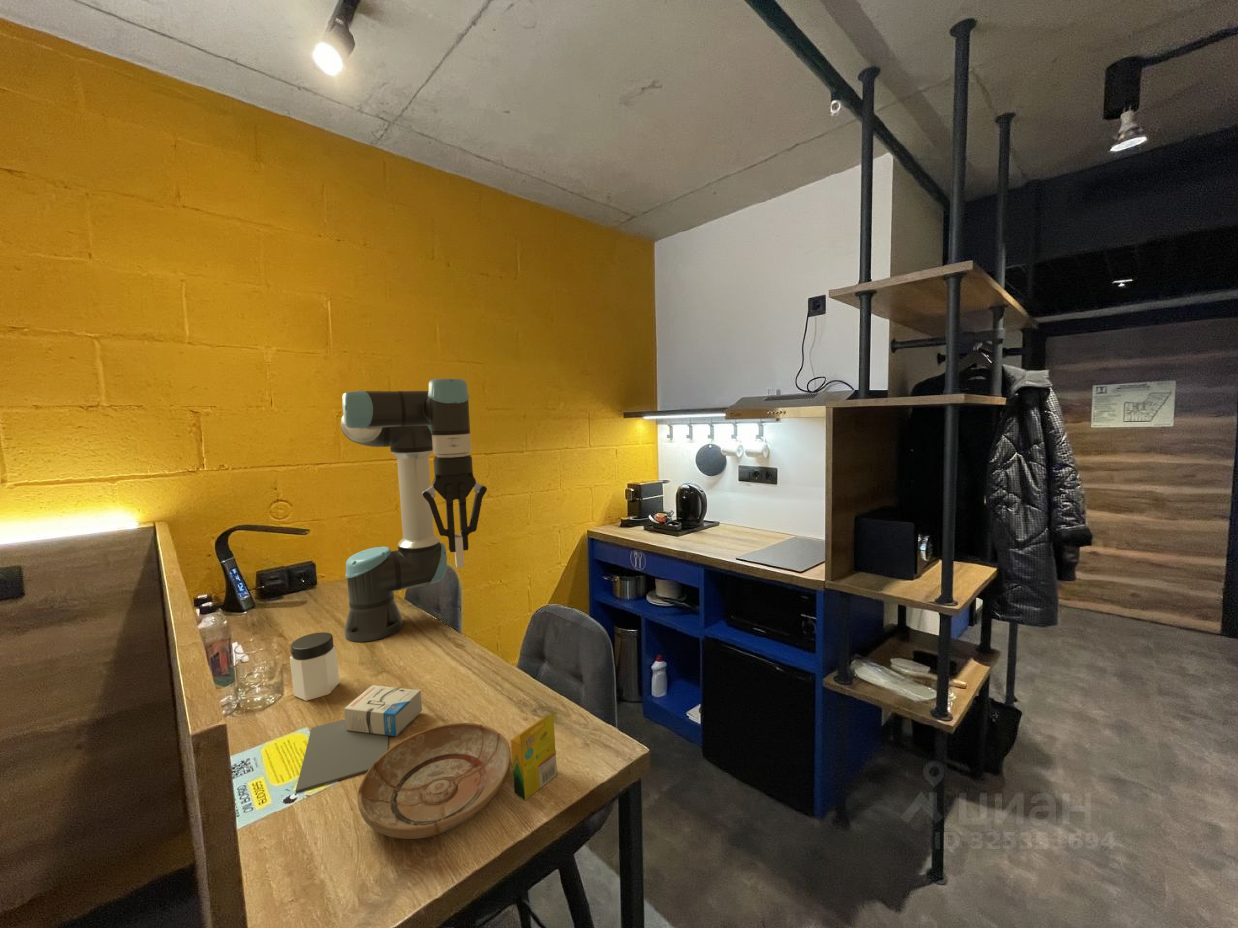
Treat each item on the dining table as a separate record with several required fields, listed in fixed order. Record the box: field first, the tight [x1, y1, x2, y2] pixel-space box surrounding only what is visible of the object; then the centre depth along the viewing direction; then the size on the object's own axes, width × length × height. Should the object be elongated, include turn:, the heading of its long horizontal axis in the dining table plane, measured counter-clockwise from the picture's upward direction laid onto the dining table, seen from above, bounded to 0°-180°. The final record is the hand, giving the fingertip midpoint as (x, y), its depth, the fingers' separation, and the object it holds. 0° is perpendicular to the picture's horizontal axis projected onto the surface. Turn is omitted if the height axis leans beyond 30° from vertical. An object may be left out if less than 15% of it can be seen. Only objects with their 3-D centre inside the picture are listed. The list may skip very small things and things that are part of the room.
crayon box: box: [510, 712, 558, 802], centre depth 82 cm, size 7×3×12 cm, turn 140°
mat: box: [295, 718, 389, 794], centre depth 93 cm, size 18×14×1 cm
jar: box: [289, 631, 340, 702], centre depth 112 cm, size 9×8×12 cm
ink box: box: [343, 684, 423, 737], centre depth 100 cm, size 9×5×12 cm
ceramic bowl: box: [357, 722, 512, 840], centre depth 81 cm, size 23×24×5 cm
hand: (459, 565), depth 104 cm, fingers closed
